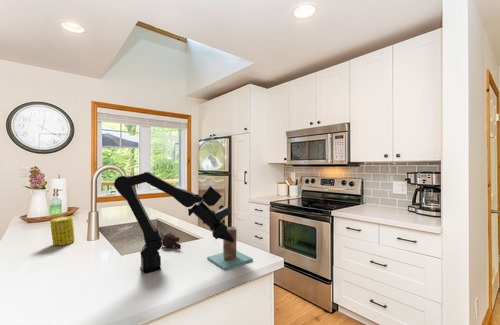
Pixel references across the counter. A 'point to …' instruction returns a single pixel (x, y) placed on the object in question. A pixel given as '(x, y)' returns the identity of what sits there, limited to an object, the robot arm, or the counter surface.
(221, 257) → the teal board
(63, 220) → the food
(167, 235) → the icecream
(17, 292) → the counter surface
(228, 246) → the walnut pillar
